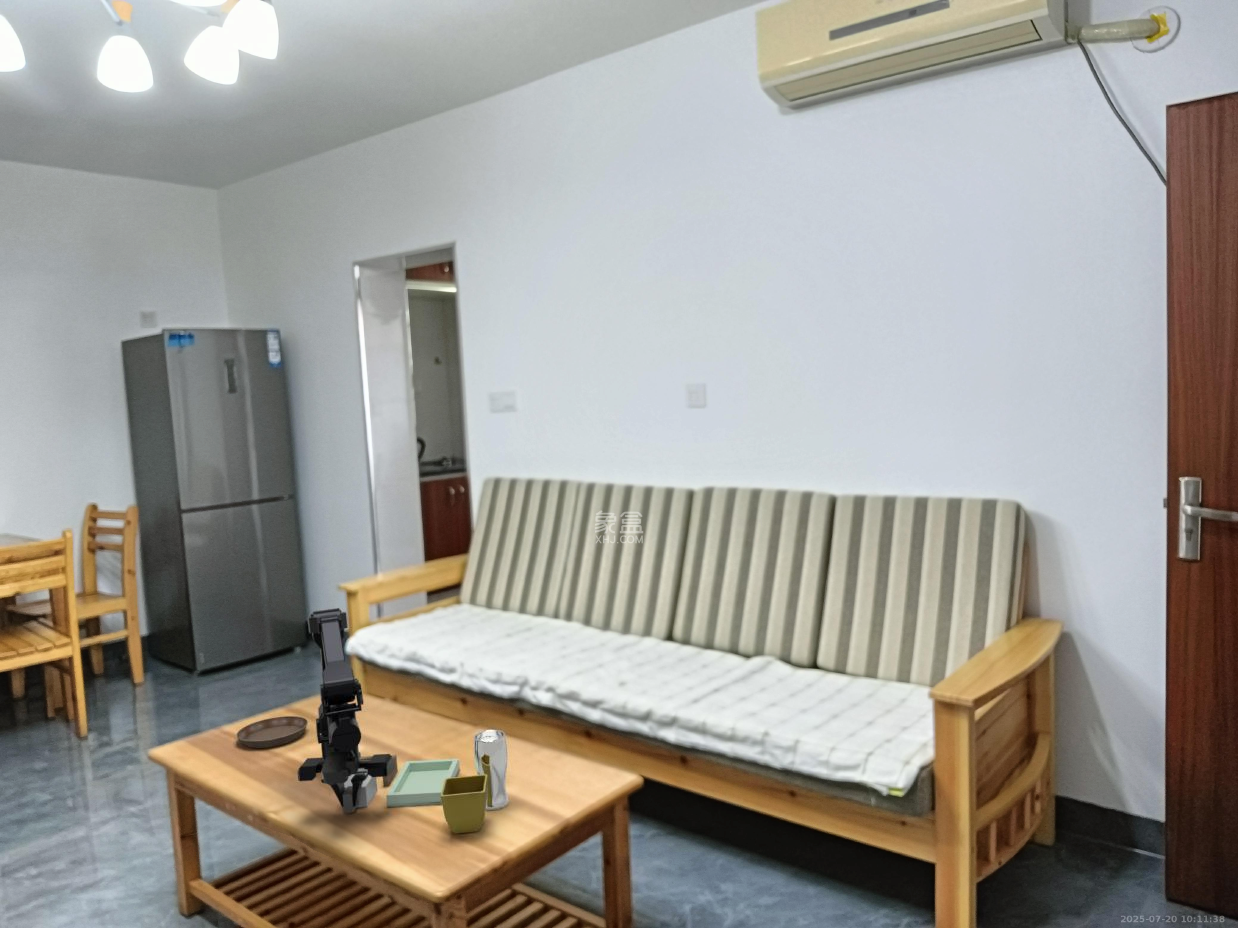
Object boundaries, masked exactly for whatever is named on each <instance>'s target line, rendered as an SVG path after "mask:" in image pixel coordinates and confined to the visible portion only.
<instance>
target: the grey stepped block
mask: <svg viewBox="0 0 1238 928" xmlns="http://www.w3.org/2000/svg"><path fill="white" fill-rule="evenodd" d="M353 776H354V774H353V775H351V776H349V777H348V780H347V781H346V782H345V783H344V786H345V792H344V793H343V794H342V795H343V806H344V807H342V806H341V808H342V809H343V813H354V812H355V810H356V809H357V808H367V807H368V806H369V805H370V803H371V802H372V800H373V798H374V797H375V795H376V793H378V792H377V791H378V784H377V783H378V782H377V777H371V776H370V775H369V776H368V777H367V779H366V780H365V781H363V783H362V787H361V790H360V794H359V797H358V801H357V804H356V806H355V807H353V801H352V783H351V779H352V777H353Z"/></svg>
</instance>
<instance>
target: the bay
mask: <svg viewBox="0 0 1238 928" xmlns="http://www.w3.org/2000/svg"><path fill="white" fill-rule="evenodd" d="M390 755H391V756H392V757H393V767H392V769H391V770H390V772H389V774H388V775H387V776H384V777H382V783H383V788H386V787H390V786H391V783H392V782H393V780H394V778H395V777H396V775H397V774H398V772H399V771H398V770H399V769H398V758H397V754H390ZM372 757H373V755H370V756H367V755H366V756H361V757H360V761H364V760H371V758H372Z"/></svg>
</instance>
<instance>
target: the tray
mask: <svg viewBox="0 0 1238 928" xmlns="http://www.w3.org/2000/svg"><path fill="white" fill-rule="evenodd" d="M460 769H461V768H460V759H459V758H446V759H443V758H442V759H429V760H428V759H427V760H425V759H424V760H410V761H408V760H407V761H405V762H404V764H403V765H402V768H401V769H400V771H399V773H397V774H398V775H397V776H396V778H395V780H394V782H393V784H392V785H391V786H390V788H389V790H388V792H387V794H386V806H387V808H394V807H411V806H413V807H417V806H432V805H442V801H441V792H442V788H443V784H444V780H445V779H446V778H453V777H458V774H459V771H460Z"/></svg>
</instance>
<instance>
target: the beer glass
mask: <svg viewBox="0 0 1238 928" xmlns="http://www.w3.org/2000/svg"><path fill="white" fill-rule="evenodd" d="M507 746H508V745H507V739H506V733H505V731H503V730H501V729H500V730H499V729H488V730H487V729H486V730H482V731H479V732H476V734H474V736H473V757H474V766H475V769H476V775H484V774H486V775H487V802H486V808H485V811H487V810H488V811H495V810H500V809H502V808H505V807H506V806H508V804H509V796H508V793H507V785H506V783H507V782H506V781H507V772H508V771H507V769H508V748H507Z"/></svg>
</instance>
